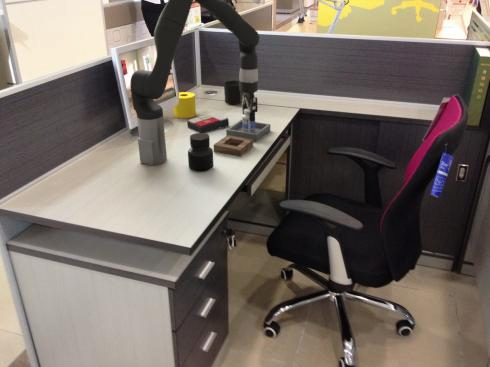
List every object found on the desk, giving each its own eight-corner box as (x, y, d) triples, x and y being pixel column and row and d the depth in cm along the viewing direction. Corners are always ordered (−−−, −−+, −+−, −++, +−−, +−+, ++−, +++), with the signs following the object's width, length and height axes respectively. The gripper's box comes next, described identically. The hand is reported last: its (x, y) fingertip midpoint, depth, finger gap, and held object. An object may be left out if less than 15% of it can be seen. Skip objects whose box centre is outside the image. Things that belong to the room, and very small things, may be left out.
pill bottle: (254, 129, 203) (254, 107, 199) (255, 133, 199) (256, 111, 194) (241, 130, 203) (241, 108, 198) (243, 134, 198) (242, 112, 194)
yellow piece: (183, 110, 230) (181, 91, 226) (199, 113, 226) (199, 94, 221) (170, 115, 222) (168, 96, 218) (187, 119, 218) (185, 99, 214)
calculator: (186, 119, 208) (214, 111, 216) (187, 128, 210) (214, 119, 218) (200, 126, 200) (228, 117, 208) (201, 135, 202) (229, 126, 210)
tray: (256, 141, 193) (256, 134, 191) (226, 136, 198) (226, 129, 197) (270, 130, 204) (270, 124, 203) (241, 126, 210) (241, 119, 208)
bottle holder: (240, 157, 179) (240, 149, 178) (213, 152, 184) (213, 144, 182) (253, 146, 188) (253, 139, 187) (227, 141, 193) (227, 135, 191)
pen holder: (246, 101, 242) (246, 82, 238) (236, 106, 235) (236, 86, 231) (231, 98, 247) (230, 79, 242) (220, 103, 240) (220, 83, 235)
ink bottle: (219, 165, 172) (218, 134, 167) (205, 174, 165) (203, 142, 160) (197, 160, 177) (195, 129, 171) (182, 169, 170) (180, 137, 164)
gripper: (234, 75, 196) (234, 113, 203) (245, 84, 184) (245, 124, 191) (251, 74, 198) (251, 111, 205) (263, 82, 186) (263, 122, 193)
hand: (248, 117), depth 198 cm, fingers open, 8 cm apart
